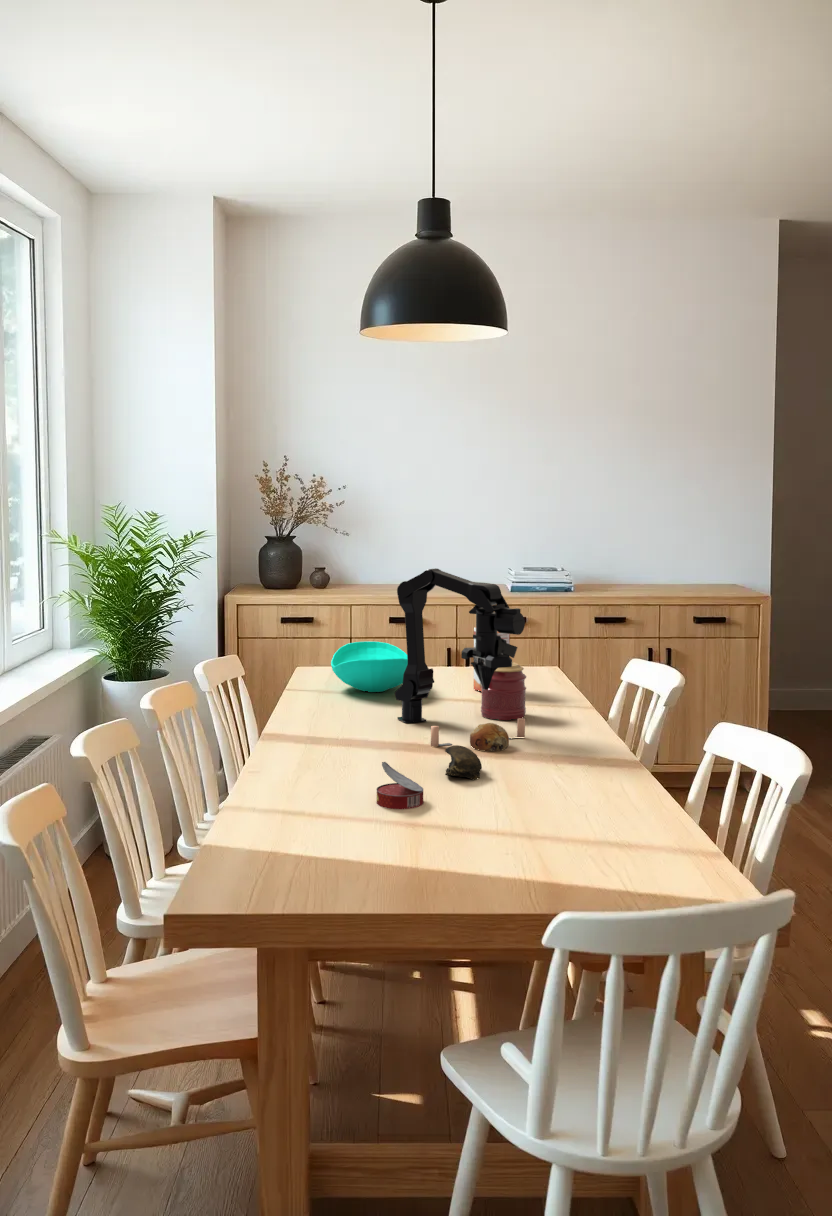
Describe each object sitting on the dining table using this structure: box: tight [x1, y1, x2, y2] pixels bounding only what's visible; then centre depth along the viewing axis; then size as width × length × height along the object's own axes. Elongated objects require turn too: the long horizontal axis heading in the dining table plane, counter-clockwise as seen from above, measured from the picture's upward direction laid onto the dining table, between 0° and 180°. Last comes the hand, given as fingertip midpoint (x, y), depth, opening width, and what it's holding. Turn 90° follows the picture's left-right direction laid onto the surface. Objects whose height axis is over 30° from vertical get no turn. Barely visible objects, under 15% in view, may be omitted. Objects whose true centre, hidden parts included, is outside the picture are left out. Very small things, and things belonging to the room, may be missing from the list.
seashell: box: [444, 744, 483, 780], centre depth 252 cm, size 16×9×7 cm, turn 178°
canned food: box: [376, 761, 424, 810], centre depth 229 cm, size 11×10×10 cm
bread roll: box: [469, 722, 510, 752], centre depth 279 cm, size 10×10×8 cm
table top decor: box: [330, 641, 408, 693], centre depth 354 cm, size 40×28×13 cm
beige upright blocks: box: [430, 717, 526, 747], centre depth 284 cm, size 2×27×5 cm, turn 114°
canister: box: [480, 661, 527, 721], centre depth 315 cm, size 13×13×18 cm
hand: (485, 689), depth 293 cm, fingers closed
